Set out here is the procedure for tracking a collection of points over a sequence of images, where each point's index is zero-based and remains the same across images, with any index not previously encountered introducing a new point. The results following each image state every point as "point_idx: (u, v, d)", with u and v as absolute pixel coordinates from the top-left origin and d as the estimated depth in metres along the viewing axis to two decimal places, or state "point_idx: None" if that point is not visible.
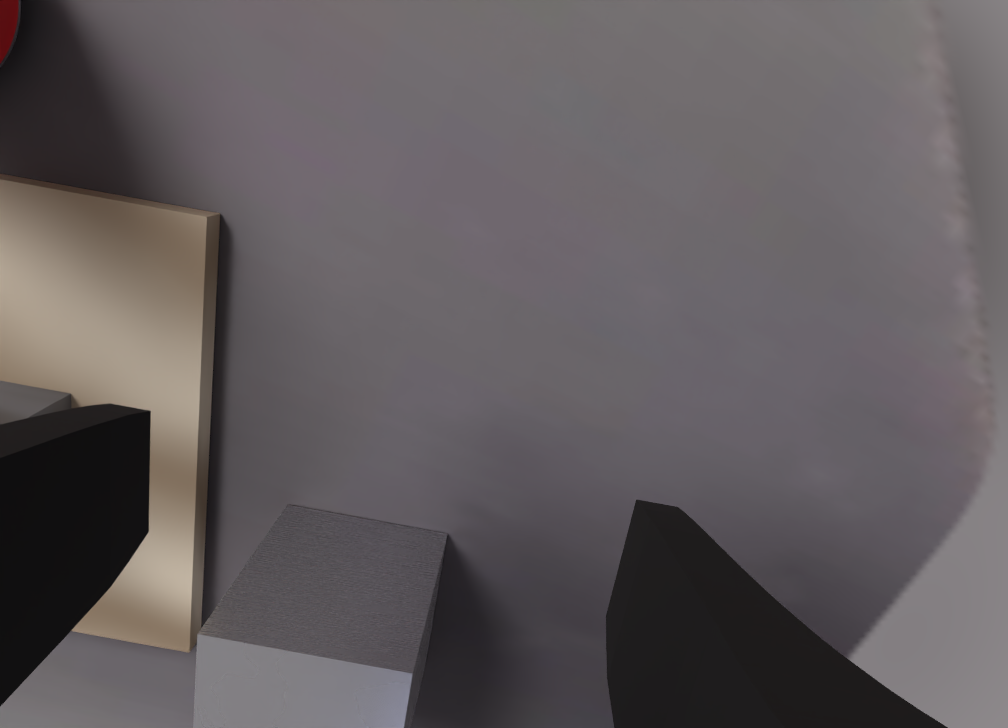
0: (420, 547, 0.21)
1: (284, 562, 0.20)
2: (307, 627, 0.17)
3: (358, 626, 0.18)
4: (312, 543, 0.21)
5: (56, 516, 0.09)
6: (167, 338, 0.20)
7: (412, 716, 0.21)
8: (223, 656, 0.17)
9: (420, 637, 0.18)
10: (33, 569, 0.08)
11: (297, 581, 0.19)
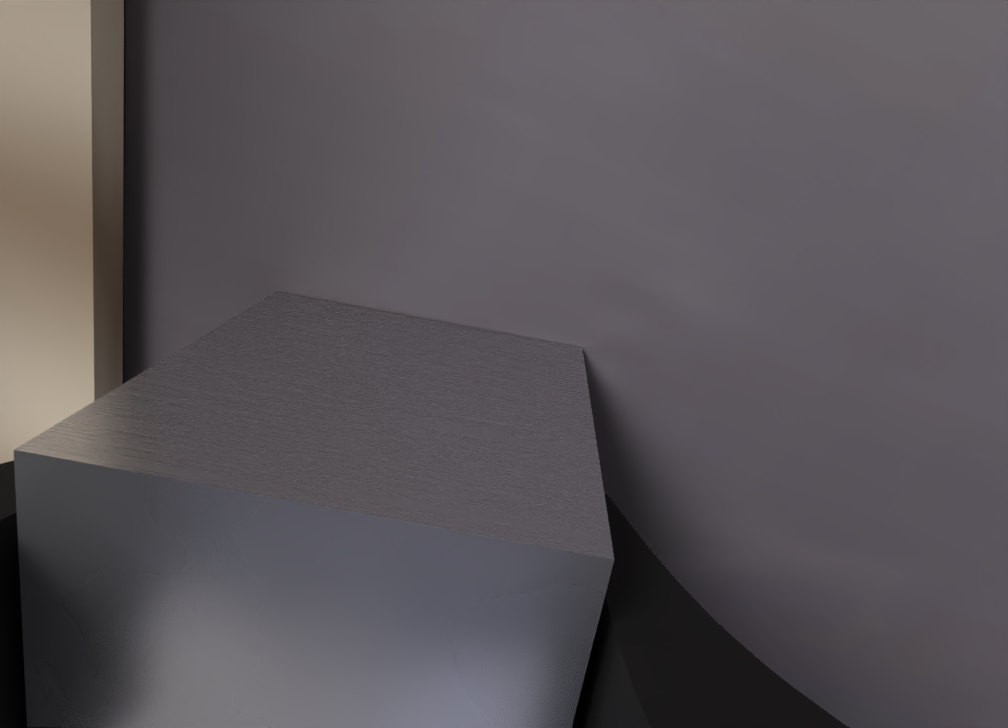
0: (540, 359, 0.11)
1: (265, 354, 0.09)
2: (319, 454, 0.07)
3: (445, 460, 0.07)
4: (325, 336, 0.10)
5: None
6: None
7: None
8: (88, 516, 0.06)
9: (600, 488, 0.07)
10: None
11: (294, 381, 0.08)
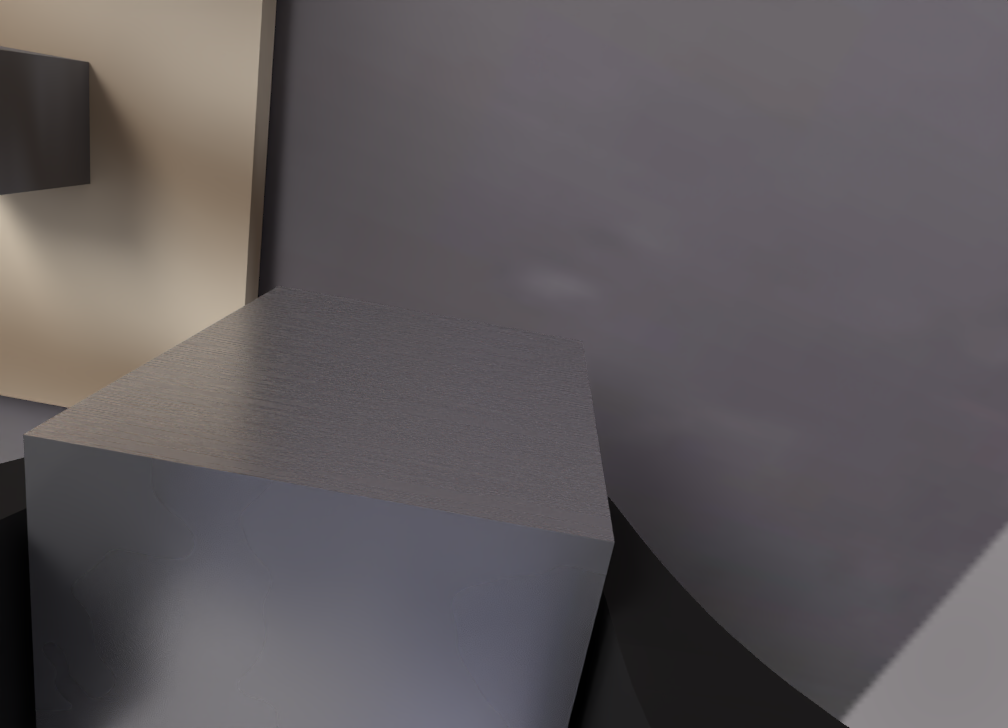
0: (540, 351, 0.11)
1: (269, 345, 0.09)
2: (323, 441, 0.07)
3: (448, 447, 0.07)
4: (328, 328, 0.10)
5: None
6: None
7: None
8: (97, 499, 0.06)
9: (601, 474, 0.07)
10: None
11: (298, 371, 0.08)
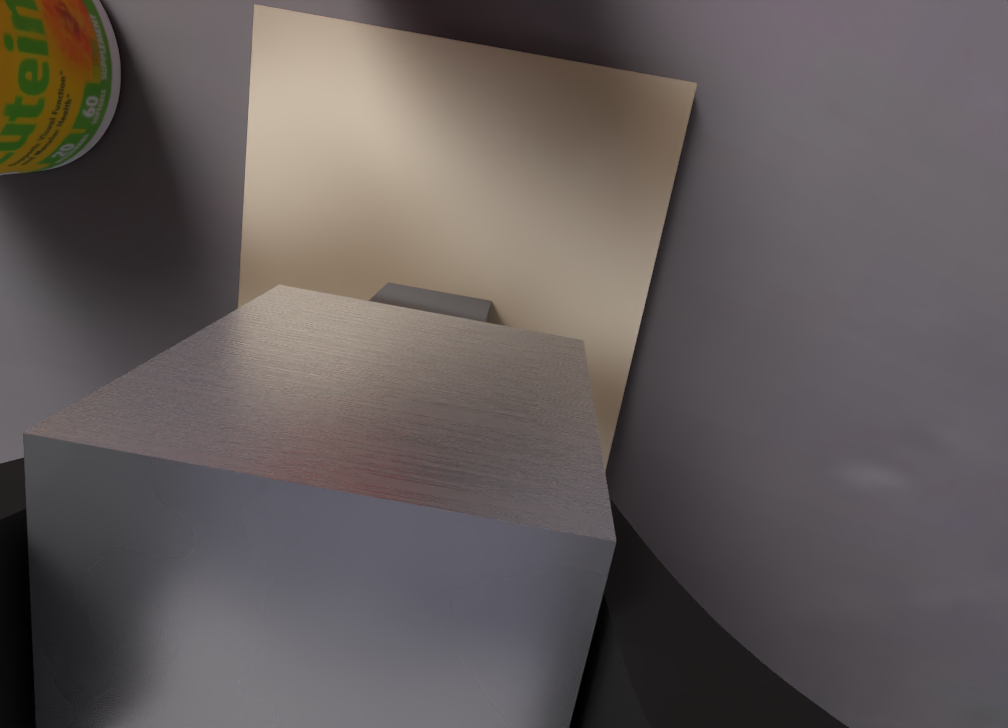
0: (541, 350, 0.11)
1: (270, 344, 0.09)
2: (324, 440, 0.07)
3: (449, 446, 0.07)
4: (329, 327, 0.10)
5: None
6: (620, 233, 0.17)
7: None
8: (97, 498, 0.06)
9: (602, 473, 0.07)
10: None
11: (298, 370, 0.08)
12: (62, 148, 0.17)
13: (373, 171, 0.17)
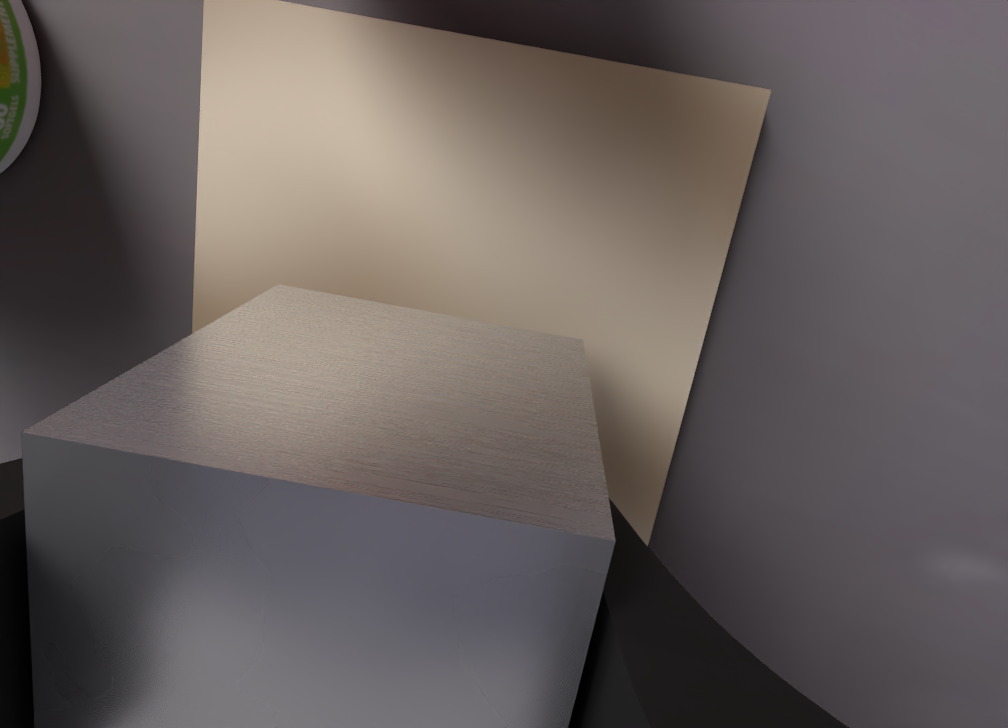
0: (541, 349, 0.11)
1: (269, 343, 0.09)
2: (323, 439, 0.07)
3: (448, 445, 0.07)
4: (328, 327, 0.10)
5: None
6: (667, 277, 0.14)
7: None
8: (95, 497, 0.06)
9: (601, 472, 0.07)
10: None
11: (297, 369, 0.08)
12: None
13: (357, 199, 0.14)
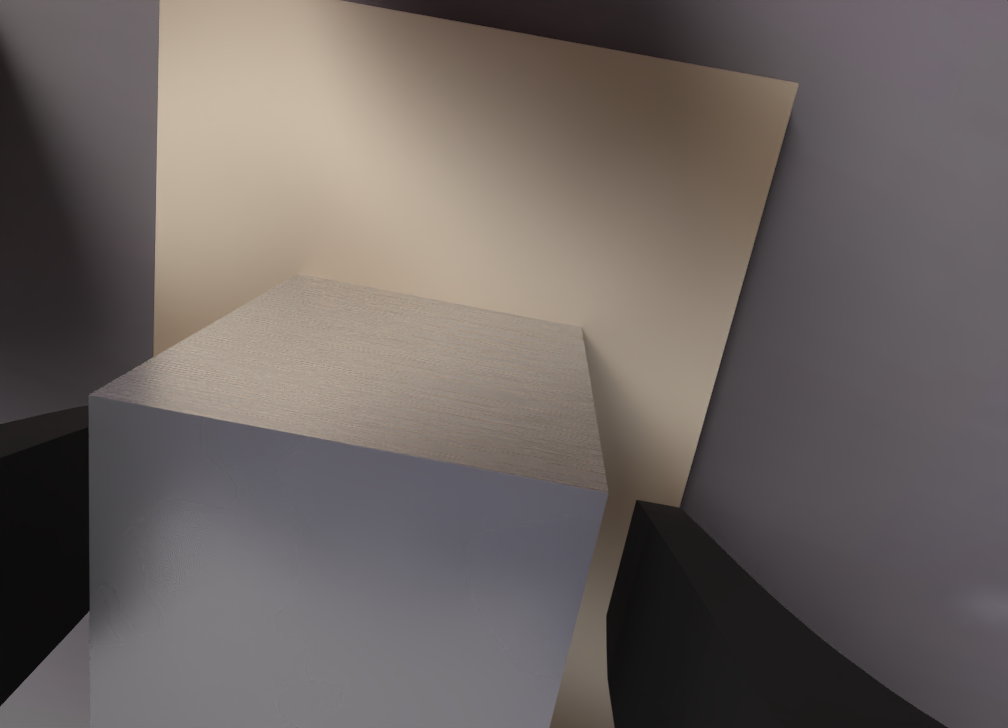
0: (542, 335, 0.12)
1: (294, 325, 0.10)
2: (349, 406, 0.08)
3: (460, 414, 0.08)
4: (346, 312, 0.11)
5: (55, 516, 0.09)
6: (681, 293, 0.12)
7: None
8: (152, 454, 0.07)
9: (597, 439, 0.08)
10: (33, 569, 0.08)
11: (322, 348, 0.09)
12: None
13: (335, 206, 0.12)
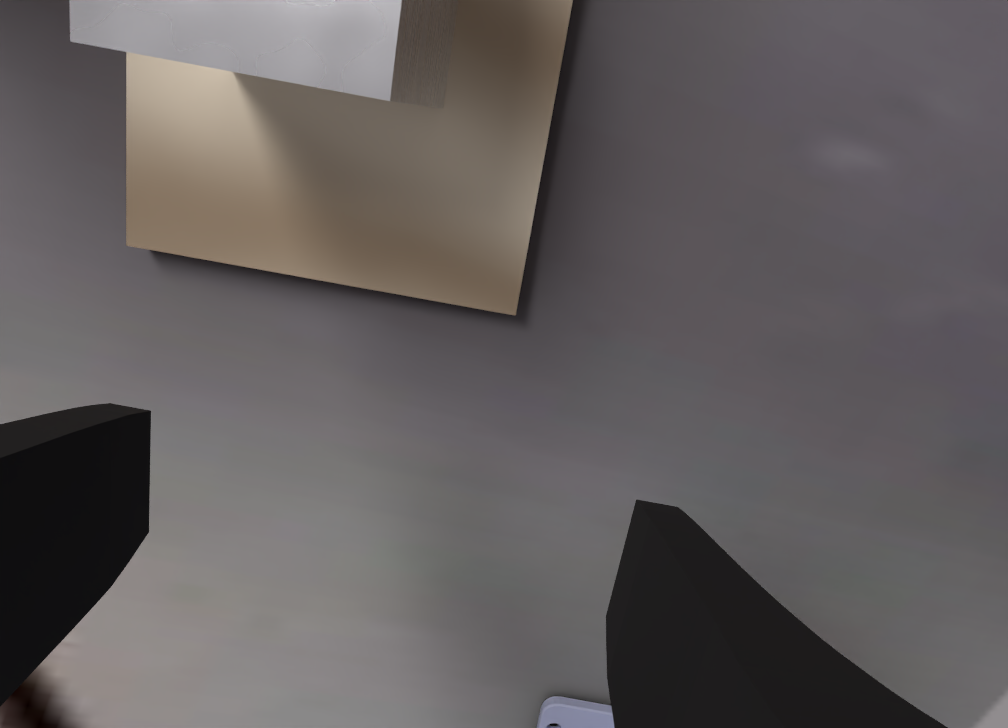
0: None
1: None
2: None
3: None
4: None
5: (56, 516, 0.09)
6: None
7: (427, 67, 0.14)
8: None
9: None
10: (33, 569, 0.08)
11: None
12: None
13: None
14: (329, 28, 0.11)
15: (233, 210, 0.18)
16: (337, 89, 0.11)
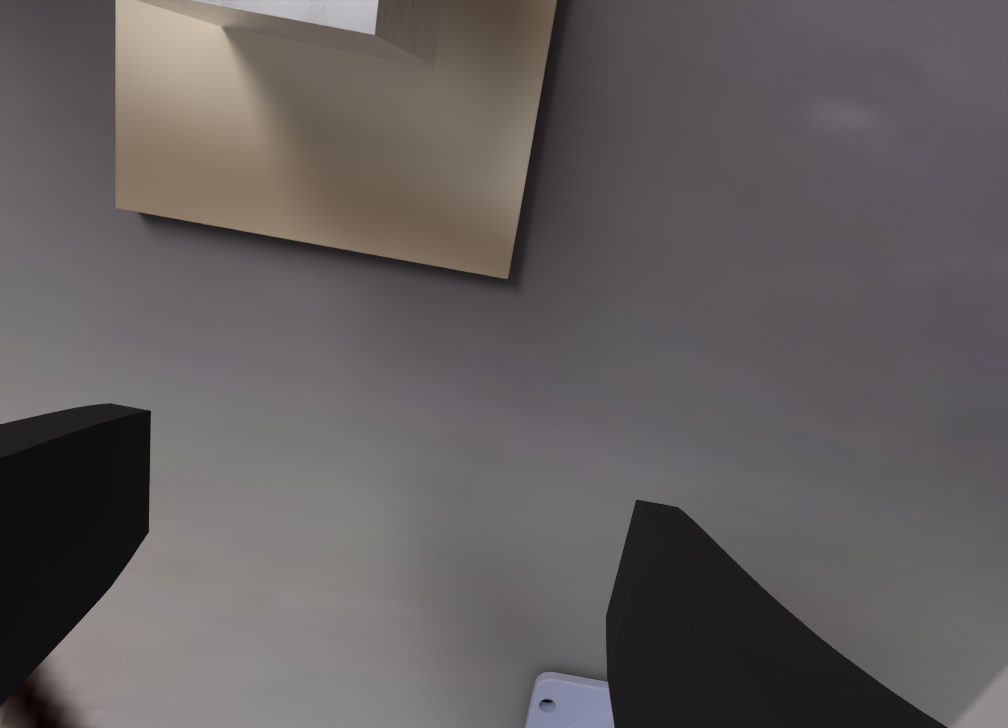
0: None
1: None
2: None
3: None
4: None
5: (56, 516, 0.09)
6: None
7: (416, 15, 0.14)
8: None
9: None
10: (33, 569, 0.08)
11: None
12: None
13: None
14: None
15: (223, 171, 0.18)
16: (321, 22, 0.11)
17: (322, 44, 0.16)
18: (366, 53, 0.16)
